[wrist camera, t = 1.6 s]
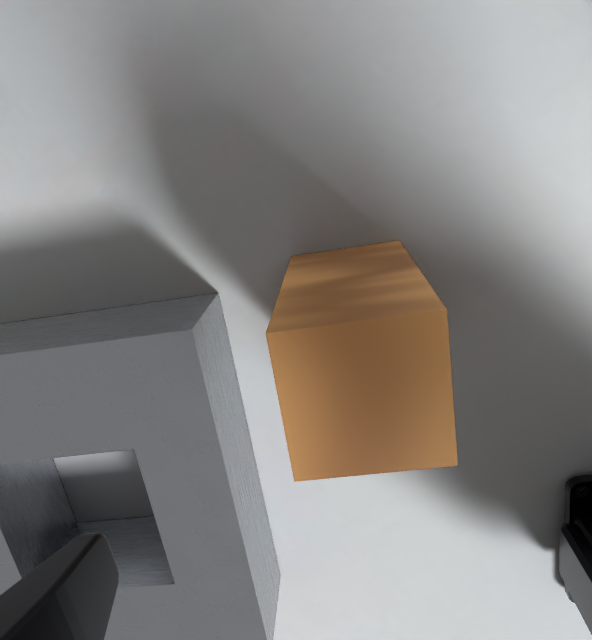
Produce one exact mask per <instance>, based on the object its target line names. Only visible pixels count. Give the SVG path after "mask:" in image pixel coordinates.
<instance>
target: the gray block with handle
mask: <svg viewBox="0 0 592 640" xmlns="http://www.w3.org/2000/svg"><path fill="white" fill-rule="evenodd" d="M132 449H134V451H135V455H136V458H137V461H138V465H139V468H140V471H141V474H142V478H143V481H144V484H145V487H146V491H147V494H148V497H149V500H150V504H151V507H152V510H153V513H154V516H150V517H139V518H128V519H117V520H106V521H95V522H84V523H76V520H75V518H74V515H73V512H72V510H71V507H70V504H69V501H68V499H67V496H66V493H65V490H64V488H63V485H62V482H61V480H60V477H59V474H58V471H57V469H56V466H55V463H54V461H53V458H57V457H67V456H76V455H85V454H95V453H104V452H114V451H123V450H132ZM88 533H103V534H104V535H105V536H106V538H107V540H108V542H109V545H110V548H111V551H112V553H113V556H114V559H115V562H116V564H117V567H118V571H119V583H118V588H117V592H116V596H115V600H114V604H113V608H112V612H111V615H110V619H109V623H108V627H107V631H106V635H105V639H104V640H273V636H274V627H275V618H276V610H277V601H278V593H279V584H280V571H279V566H278V562H277V557H276V553H275V548H274V544H273V539H272V534H271V530H270V525H269V521H268V516H267V512H266V507H265V503H264V498H263V493H262V489H261V484H260V480H259V475H258V471H257V466H256V461H255V457H254V452H253V448H252V443H251V439H250V434H249V430H248V425H247V420H246V416H245V411H244V407H243V402H242V398H241V393H240V389H239V384H238V379H237V375H236V370H235V366H234V361H233V357H232V352H231V347H230V343H229V338H228V334H227V329H226V325H225V320H224V316H223V311H222V306H221V302H220V297H219V293H215V294H208V295H201V296H194V297H187V298H180V299H173V300H166V301H158V302H151V303H144V304H137V305H130V306H123V307H116V308H109V309H102V310H94V311H87V312H80V313H73V314H66V315H59V316H52V317H45V318H38V319H30V320H23V321H16V322H9V323H2V324H0V595H1V594H2V593H4V592H5V591H6V590H8V589H9V588H10V587H11V586H13V585H14V584H15V583H17V582H18V581H19V580H21V579H22V578H23V577H24V576H26V575H27V574H28V573H30V572H31V571H32V570H33V569H35V568H36V567H37V566H39V565H40V564H41V563H42V562H44V561H45V560H46V559H48V558H49V557H50V556H52V555H53V554H54V553H55V552H57V551H58V550H59V549H61V548H62V547H63V546H64V545H66V544H67V543H68V542H70V541H71V540H72V539H73V538H75V537H76V536H78V535H81V534H88Z"/></svg>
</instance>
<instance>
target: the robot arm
mask: <svg viewBox="0 0 592 640" xmlns="http://www.w3.org/2000/svg"><path fill="white" fill-rule="evenodd" d="M581 487H584V488H583V489H582V490H580V491H577V490H578V489H579V488H581ZM559 572H560V575H561V577H562V579H563V581H564V583H565V592H566V594H567V596H568V597H569V599H570V600H571V601H572V602H574V603H575V604H576V606H577V607H578V609H579V611H580V613H581V615H582V617H583V619H584V621H585V623H586V625H587V626H588V628H589V630H590V632H591V634H592V475H582V476H576V477H573V478H571V479H569V481H568V482H567V483H566V495H565V524H563V525H562V527H561V528H560V553H559ZM118 583H119V571H118V567H117V564H116V562H115V559H114V556H113V553H112V551H111V548H110V545H109V542H108V540H107V538H106V536H105V535H104V534H103V533H88V534H81V535H78V536H76V537H75V538H73V539H72V540H71V541H70V542H68V543H67V544H66V545H64V546H63V547H62V548H61V549H59V550H58V551H57V552H55V553H54V554H53V555H52V556H50V557H49V558H48V559H46V560H45V561H44V562H42V563H41V564H40V565H39V566H37V567H36V568H35V569H33V570H32V571H31V572H30V573H28V574H27V575H26V576H24V577H23V578H22V579H21V580H19V581H18V582H17V583H15V584H14V585H13V586H11V587H10V588H9V589H8V590H6V591H5V592H4V593H2V594H1V595H0V640H104V639H105V635H106V631H107V627H108V623H109V619H110V615H111V612H112V608H113V604H114V600H115V596H116V592H117V588H118Z"/></svg>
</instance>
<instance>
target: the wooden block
mask: <svg viewBox="0 0 592 640" xmlns="http://www.w3.org/2000/svg"><path fill="white" fill-rule="evenodd" d="M266 337H267V342H268V347H269V353H270V358H271V363H272V368H273V373H274V378H275V384H276V389H277V394H278V399H279V404H280V409H281V415H282V420H283V425H284V430H285V435H286V440H287V446H288V451H289V456H290V461H291V466H292V471H293V477H294V482H295V481H305V480H316V479H326V478H336V477H347V476H357V475H368V474H378V473H388V472H399V471H409V470H419V469H430V468H440V467H451V466H458V459H457V444H456V430H455V415H454V401H453V387H452V372H451V358H450V343H449V329H448V315H447V309H446V307H445V306H444V304H443V303H442V301H441V300H440V298H439V297H438V296H437V294H436V293H435V291H434V290H433V288H432V287H431V285H430V284H429V282H428V281H427V279H426V278H425V277H424V275H423V274H422V272H421V271H420V269H419V268H418V266H417V265H416V263H415V262H414V260H413V259H412V258H411V256H410V255H409V253H408V252H407V250H406V249H405V247H404V246H403V244H402V243H401V241H400V240H398V241H391V242H385V243H378V244H371V245H364V246H357V247H351V248H344V249H337V250H330V251H323V252H316V253H310V254H303V255H296V256H291V259H290V262H289V265H288V268H287V271H286V274H285V277H284V280H283V283H282V286H281V289H280V292H279V295H278V298H277V301H276V304H275V307H274V310H273V313H272V316H271V319H270V322H269V325H268V328H267V331H266Z"/></svg>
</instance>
